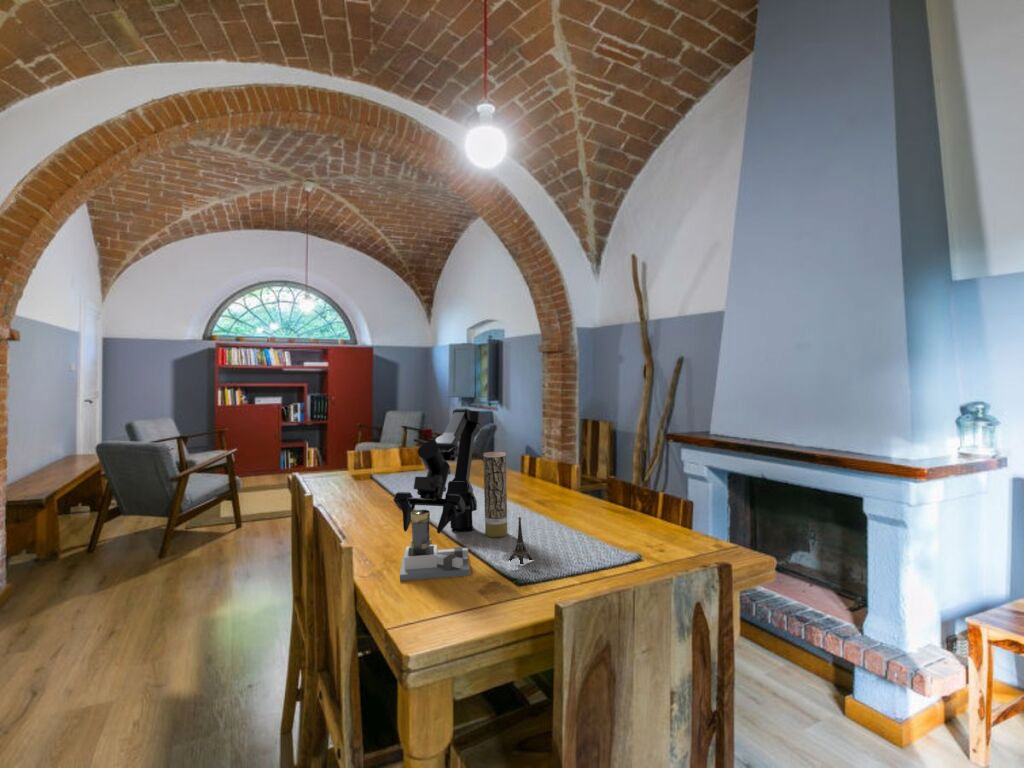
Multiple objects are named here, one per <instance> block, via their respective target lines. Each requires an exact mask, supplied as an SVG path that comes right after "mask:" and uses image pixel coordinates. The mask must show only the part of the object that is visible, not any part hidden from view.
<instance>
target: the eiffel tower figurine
mask: <svg viewBox="0 0 1024 768" xmlns="http://www.w3.org/2000/svg"><path fill="white" fill-rule="evenodd" d="M519 515H521V514H520V512H519ZM517 520H518V526H517V527H518V528H517V541H516V542H515V543H516V545H515V548H514V550H513V551H512V554H511V556H510V557H509V559H508V560H510V561H511V560H512V559H514V558H516V557H518V558H519V560H520V564H524V563H523V558H525V557H526V558H528V559H529V560H534V558H533V557H532V556H531V555H530V553H529V550H528V549H527V548H526V546H525V541H524V538H523V531H522V521H521V520H522V517H521V516H519V517H518V519H517Z"/></svg>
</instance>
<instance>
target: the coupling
mask: <svg viewBox="0 0 1024 768" xmlns="http://www.w3.org/2000/svg"><path fill="white" fill-rule="evenodd" d="M430 516H431V515H430V510H428V509H416V510H413V511H412V512H411V522H410V523H411V541H410V546H411V548H413V554H412V556H420V555H431V553H430V545H433V544H432V538H431V537H430V521H431V517H430Z"/></svg>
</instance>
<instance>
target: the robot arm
mask: <svg viewBox="0 0 1024 768" xmlns="http://www.w3.org/2000/svg"><path fill="white" fill-rule="evenodd" d="M483 422H484V416H483V414H482V413H481V412H480V410H471V409H469V408H454V409H453V410H452V416H451V418H450V419H449V421H448V424H447V426H446V428H445V430H444V432H443V434H441V435H439V436H437V437H436V438H428V441H427V442H423V444H421V445H420V447H418V450H417V455H418V457H419V459H420V460H421V462H422V464H423V466H424V468H425V469H427V473H426V476H415V477H414V483H413V490H417V491H416V494H417V495H418V496H419V497H414V496H413V495H412V494H411V492H410V491H407V492H406V491H398V492H396V493H395V495H394V497H393V502H394V503H395V505H396V506H397V508H398V509H399V511H401V512H402V525H403V531H404V532H407V531H408V529H409V527H410V525H411V523H412V522H411V512H412V511H414V510H415V507H416V506H425V507H426V506H433V507H442V512H441V515H440V518H439V521H438V525H437V530H436V533H437V535H438V534H439V535H440V534H441V532H442V531H443V530H444V529H445V527H447V526H448V524H449V523H450V529H451V531H460V532H468V531H469V532H470V531H474V527H473V512H475V511H477V510H478V501H477V498H476V496H475V494H474V488H473V486H472V483H471V481H470V476H471V470H472V469H471V468H472V459H473V452H474V445H475V444H474V443H475V437H477V435H478V434H479V433H480V431H481V426H482V425H483ZM458 442H459V444H458ZM455 460H456V465H455V473H454V478H453V479H452V480H449V481H448V477H449V475H451V466H450V464H449V462H455ZM447 481H448V484H447ZM446 484H447V487H446ZM444 493H445V498H443V496H444Z"/></svg>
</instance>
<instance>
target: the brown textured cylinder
mask: <svg viewBox="0 0 1024 768" xmlns="http://www.w3.org/2000/svg"><path fill="white" fill-rule="evenodd" d="M483 482H484V483H483V488H484V489H483V490H484V491H483V492H484V497H483V498H484V526H485V527H484V529H485V532H484V533H485V534H486V537H489V538H502V537H505V536H506V535H507V534H508V493H507V492H508V491H507V490H508V489H507V488H508V486H507V454H506V452H504V451H502V452H501V451H487V452H484V453H483Z"/></svg>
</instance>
